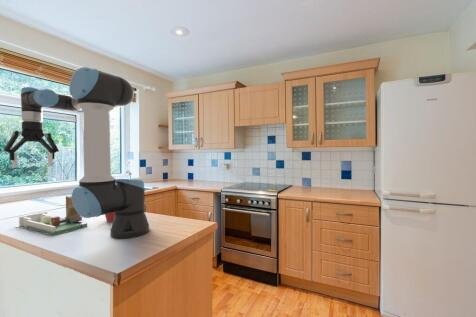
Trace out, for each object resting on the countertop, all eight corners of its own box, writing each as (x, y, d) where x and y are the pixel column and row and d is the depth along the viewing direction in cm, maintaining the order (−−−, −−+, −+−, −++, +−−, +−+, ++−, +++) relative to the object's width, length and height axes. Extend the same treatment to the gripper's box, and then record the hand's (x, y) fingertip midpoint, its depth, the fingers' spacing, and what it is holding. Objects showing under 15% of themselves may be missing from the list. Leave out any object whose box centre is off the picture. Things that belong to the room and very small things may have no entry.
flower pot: (117, 223, 115) (116, 203, 115) (97, 222, 117) (97, 203, 117) (131, 217, 125) (131, 199, 125) (113, 216, 127) (112, 199, 127)
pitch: (81, 228, 108) (81, 218, 108) (53, 235, 98) (53, 224, 98) (46, 220, 122) (46, 211, 122) (19, 226, 112) (18, 216, 112)
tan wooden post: (81, 220, 114) (81, 195, 114) (56, 226, 105) (55, 199, 104) (74, 219, 117) (74, 194, 117) (49, 225, 107) (48, 198, 107)
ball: (54, 223, 111) (53, 214, 111) (44, 225, 108) (43, 216, 108) (49, 222, 113) (49, 213, 113) (39, 224, 110) (39, 215, 109)
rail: (87, 226, 111) (87, 223, 111) (81, 227, 109) (81, 224, 109) (59, 220, 122) (59, 217, 122) (53, 221, 119) (53, 218, 119)
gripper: (58, 125, 124) (59, 165, 124) (-8, 118, 102) (-7, 168, 102) (66, 124, 120) (67, 165, 121) (0, 117, 98) (1, 168, 99)
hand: (33, 167), depth 111 cm, fingers open, 13 cm apart
